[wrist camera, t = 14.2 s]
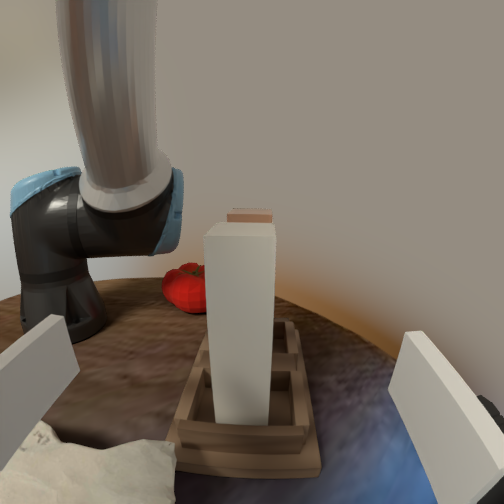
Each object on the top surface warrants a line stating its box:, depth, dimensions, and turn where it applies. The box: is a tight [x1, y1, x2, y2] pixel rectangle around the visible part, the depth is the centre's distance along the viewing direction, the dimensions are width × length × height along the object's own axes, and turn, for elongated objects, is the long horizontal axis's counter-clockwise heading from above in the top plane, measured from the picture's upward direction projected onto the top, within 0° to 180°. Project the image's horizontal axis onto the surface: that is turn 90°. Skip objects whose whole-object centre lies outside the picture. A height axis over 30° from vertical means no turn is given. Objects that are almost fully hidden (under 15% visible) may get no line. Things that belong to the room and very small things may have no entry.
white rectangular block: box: [204, 222, 276, 426], centre depth 20 cm, size 4×5×16 cm
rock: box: [0, 420, 177, 504], centre depth 10 cm, size 21×5×15 cm
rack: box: [165, 318, 322, 479], centre depth 27 cm, size 22×12×4 cm, turn 177°
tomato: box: [162, 263, 207, 313], centre depth 48 cm, size 10×11×6 cm
